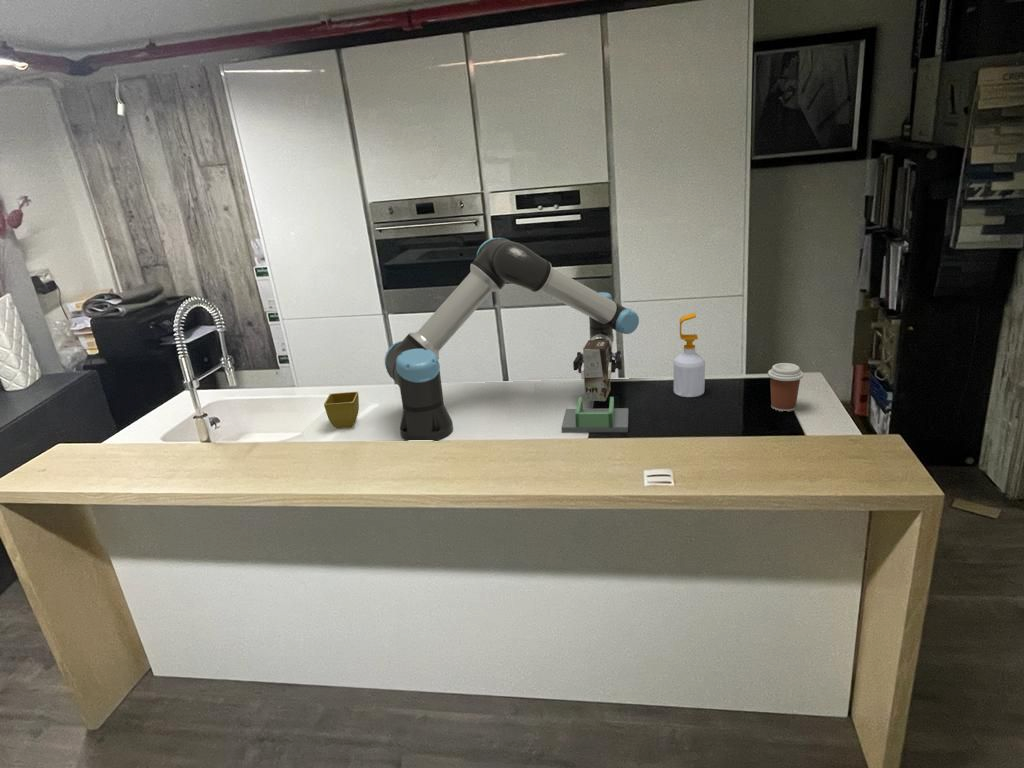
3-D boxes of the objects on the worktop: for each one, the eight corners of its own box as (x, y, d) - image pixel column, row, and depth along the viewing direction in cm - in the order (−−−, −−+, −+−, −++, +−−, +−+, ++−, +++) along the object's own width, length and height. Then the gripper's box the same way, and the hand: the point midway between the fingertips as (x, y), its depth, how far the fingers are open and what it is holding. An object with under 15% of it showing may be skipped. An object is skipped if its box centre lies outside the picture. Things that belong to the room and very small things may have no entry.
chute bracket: (561, 432, 187) (560, 414, 185) (566, 413, 199) (565, 396, 197) (627, 432, 183) (627, 413, 181) (628, 413, 195) (628, 395, 193)
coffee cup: (766, 412, 188) (769, 372, 183) (765, 400, 196) (767, 361, 191) (802, 414, 185) (805, 373, 181) (799, 401, 193) (802, 361, 189)
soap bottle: (705, 397, 201) (707, 318, 192) (673, 397, 203) (674, 318, 194) (703, 386, 209) (705, 309, 200) (673, 386, 211) (673, 310, 202)
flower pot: (363, 418, 208) (358, 390, 205) (358, 429, 200) (353, 401, 197) (334, 420, 208) (329, 393, 205) (328, 432, 200) (323, 404, 197)
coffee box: (606, 401, 197) (604, 349, 191) (584, 400, 199) (582, 348, 193) (611, 390, 205) (609, 339, 199) (590, 389, 207) (588, 338, 201)
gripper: (631, 359, 215) (631, 386, 194) (569, 361, 218) (562, 387, 197) (631, 337, 212) (630, 361, 191) (568, 339, 216) (560, 363, 195)
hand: (595, 374), depth 194 cm, fingers closed on coffee box, 7 cm apart
